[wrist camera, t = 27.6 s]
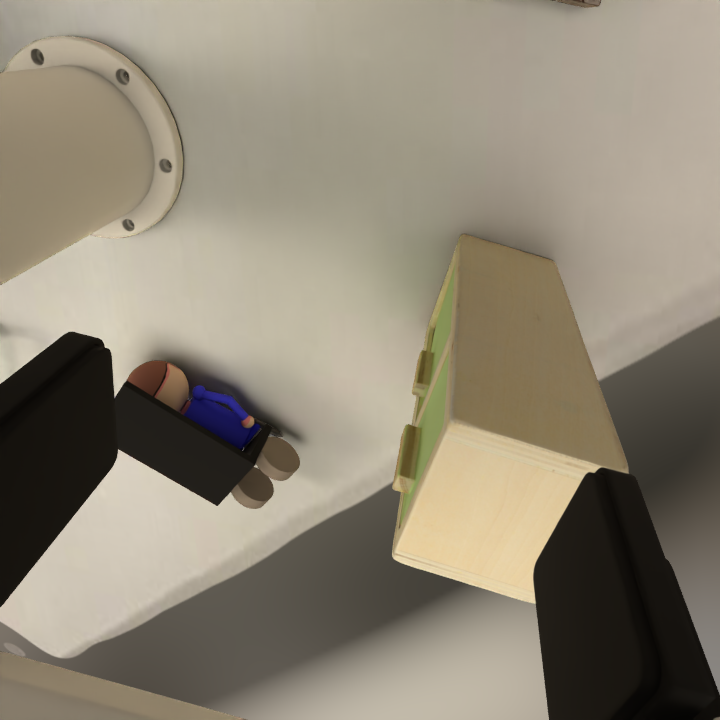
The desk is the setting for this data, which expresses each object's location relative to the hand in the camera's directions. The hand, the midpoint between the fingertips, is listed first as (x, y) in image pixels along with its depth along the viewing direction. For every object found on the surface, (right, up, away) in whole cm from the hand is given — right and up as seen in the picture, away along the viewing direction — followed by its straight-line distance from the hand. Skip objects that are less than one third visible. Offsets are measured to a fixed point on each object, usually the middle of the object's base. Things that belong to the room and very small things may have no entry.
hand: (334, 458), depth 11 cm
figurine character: (-11, -2, +37) cm, 39 cm away
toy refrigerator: (+9, +7, +28) cm, 30 cm away
